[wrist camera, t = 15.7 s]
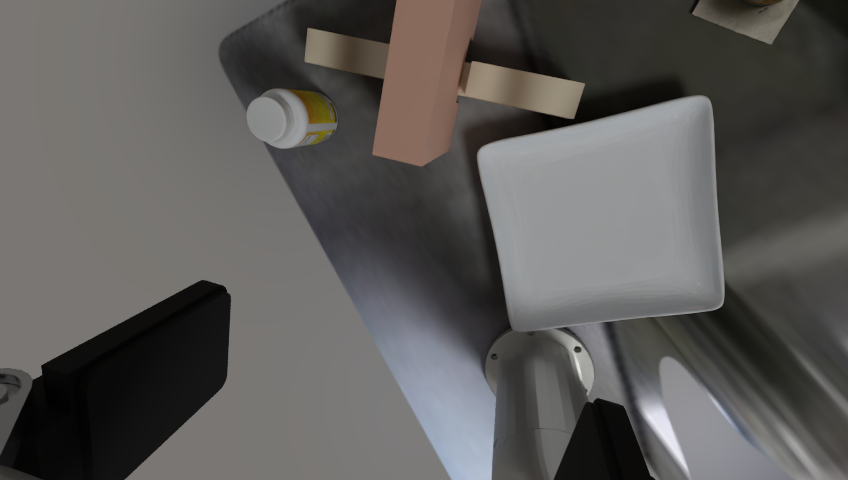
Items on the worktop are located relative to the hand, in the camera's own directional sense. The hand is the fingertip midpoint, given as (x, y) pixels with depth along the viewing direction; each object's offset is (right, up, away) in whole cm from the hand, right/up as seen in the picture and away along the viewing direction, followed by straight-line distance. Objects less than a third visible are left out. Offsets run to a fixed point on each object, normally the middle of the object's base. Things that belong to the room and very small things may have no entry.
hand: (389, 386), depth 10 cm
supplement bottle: (-11, +18, +36) cm, 42 cm away
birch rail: (+3, +21, +32) cm, 38 cm away
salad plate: (+19, +6, +34) cm, 39 cm away
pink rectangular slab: (+3, +21, +32) cm, 38 cm away
